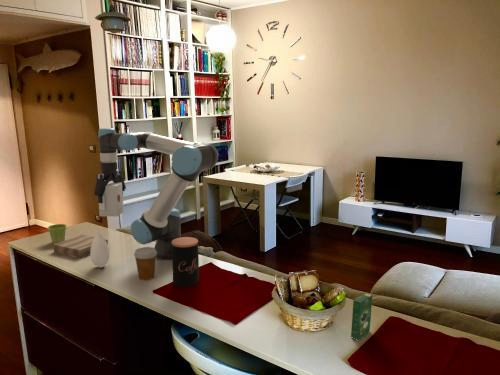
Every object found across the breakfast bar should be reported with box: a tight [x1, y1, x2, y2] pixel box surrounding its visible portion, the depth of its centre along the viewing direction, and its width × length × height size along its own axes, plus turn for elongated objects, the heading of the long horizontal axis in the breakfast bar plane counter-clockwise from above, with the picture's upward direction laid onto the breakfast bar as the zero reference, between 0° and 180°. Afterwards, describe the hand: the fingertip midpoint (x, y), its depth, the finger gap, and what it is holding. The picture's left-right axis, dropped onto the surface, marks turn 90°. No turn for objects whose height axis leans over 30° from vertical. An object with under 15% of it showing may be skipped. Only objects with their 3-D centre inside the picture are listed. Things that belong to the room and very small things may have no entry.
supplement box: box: [98, 181, 124, 217], centre depth 198 cm, size 9×9×15 cm
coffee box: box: [350, 292, 373, 341], centre depth 132 cm, size 8×3×13 cm, turn 137°
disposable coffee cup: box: [133, 246, 157, 281], centre depth 176 cm, size 10×10×12 cm
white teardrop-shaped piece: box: [89, 228, 110, 269], centre depth 186 cm, size 8×8×18 cm
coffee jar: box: [171, 236, 200, 288], centre depth 170 cm, size 11×11×18 cm
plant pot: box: [47, 223, 68, 245], centre depth 221 cm, size 9×9×9 cm
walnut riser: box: [52, 234, 109, 259], centre depth 210 cm, size 18×18×4 cm
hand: (111, 206), depth 199 cm, fingers closed on supplement box, 11 cm apart
